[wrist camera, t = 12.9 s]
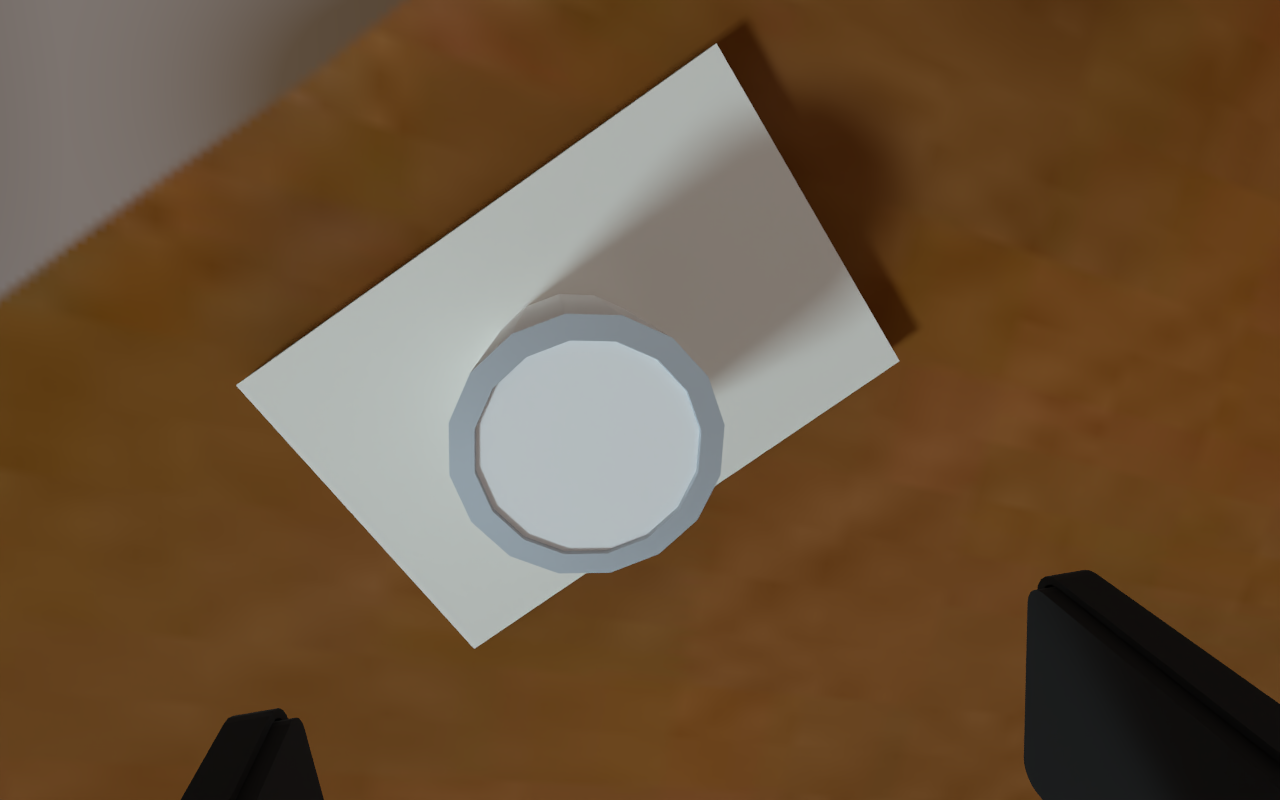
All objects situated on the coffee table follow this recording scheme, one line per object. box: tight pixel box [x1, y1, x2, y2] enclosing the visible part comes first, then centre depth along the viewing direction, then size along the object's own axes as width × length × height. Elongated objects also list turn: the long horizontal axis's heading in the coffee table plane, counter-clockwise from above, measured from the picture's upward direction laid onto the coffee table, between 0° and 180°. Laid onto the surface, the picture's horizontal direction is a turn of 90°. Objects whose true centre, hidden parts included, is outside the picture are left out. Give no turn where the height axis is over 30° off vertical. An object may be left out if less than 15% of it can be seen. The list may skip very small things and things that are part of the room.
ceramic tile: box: [236, 43, 899, 649], centre depth 27 cm, size 18×12×1 cm, turn 124°
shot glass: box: [449, 294, 725, 573], centre depth 23 cm, size 7×7×7 cm
